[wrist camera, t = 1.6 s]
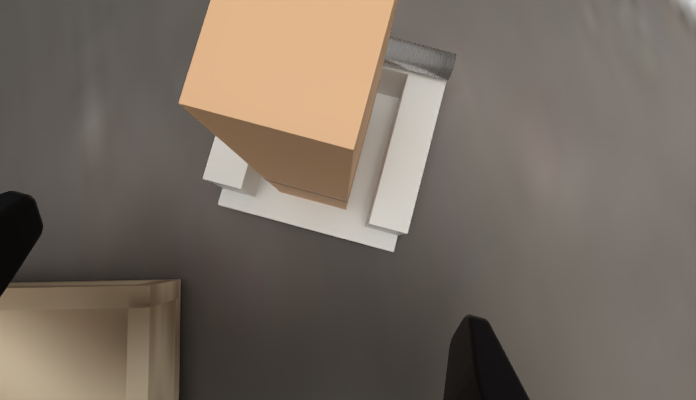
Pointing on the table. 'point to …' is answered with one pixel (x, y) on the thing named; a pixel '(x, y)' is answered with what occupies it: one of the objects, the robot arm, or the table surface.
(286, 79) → the orange post
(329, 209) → the white piece
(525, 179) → the table surface
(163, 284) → the tray
